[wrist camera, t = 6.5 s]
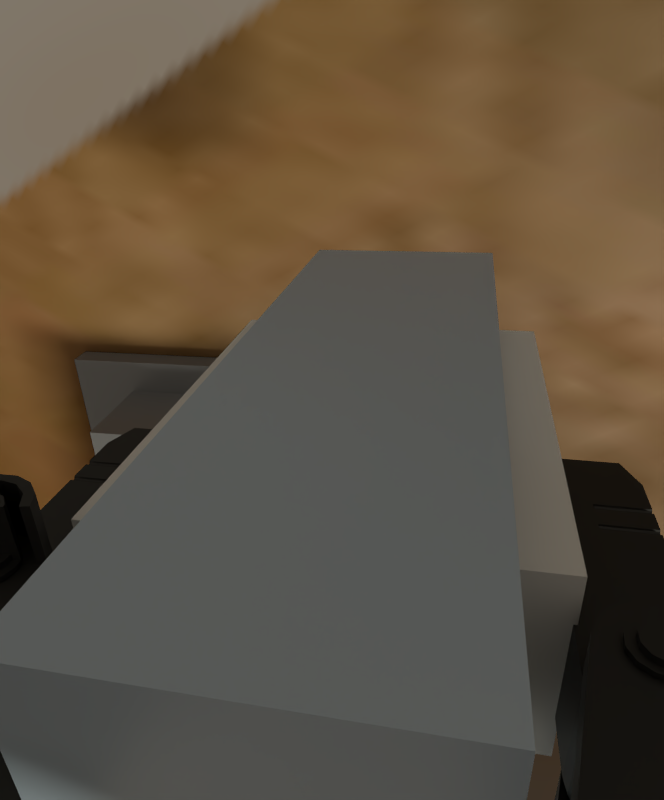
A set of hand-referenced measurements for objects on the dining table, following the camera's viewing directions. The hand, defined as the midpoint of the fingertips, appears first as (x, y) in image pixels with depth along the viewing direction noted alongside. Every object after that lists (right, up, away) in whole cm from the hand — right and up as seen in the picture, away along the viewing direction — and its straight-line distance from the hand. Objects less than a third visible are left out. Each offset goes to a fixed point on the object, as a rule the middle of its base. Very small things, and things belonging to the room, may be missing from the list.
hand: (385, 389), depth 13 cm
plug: (+1, +1, +3) cm, 3 cm away
